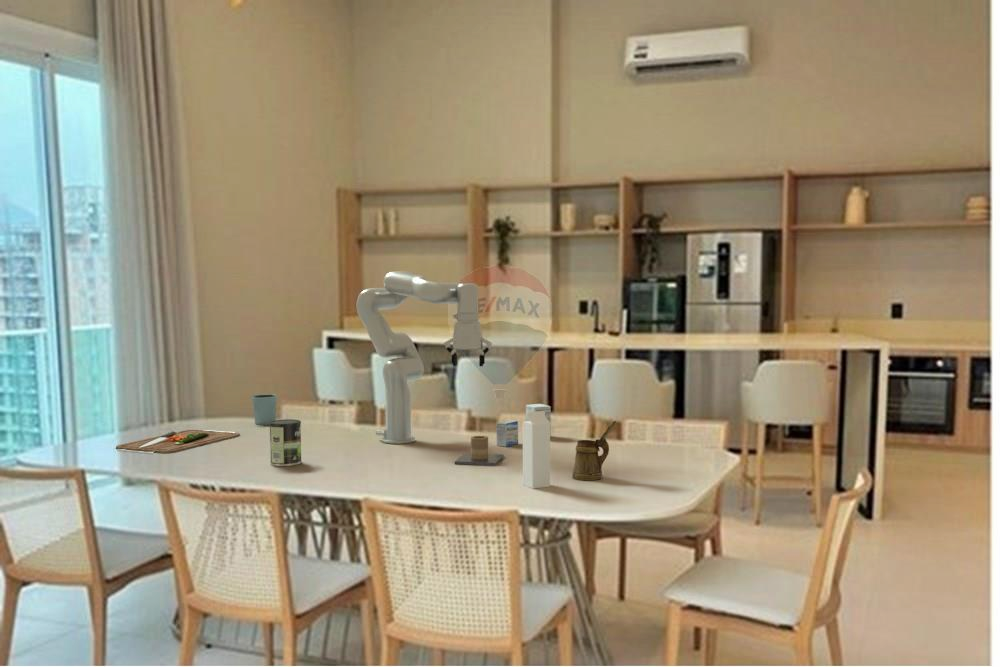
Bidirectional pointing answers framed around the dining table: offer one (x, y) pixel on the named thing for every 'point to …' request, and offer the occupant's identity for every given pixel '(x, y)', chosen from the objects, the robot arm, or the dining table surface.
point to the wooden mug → (591, 457)
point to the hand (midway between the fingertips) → (468, 365)
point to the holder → (490, 461)
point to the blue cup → (264, 408)
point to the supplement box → (540, 408)
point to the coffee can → (285, 442)
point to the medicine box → (507, 433)
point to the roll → (479, 447)
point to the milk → (536, 450)
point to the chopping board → (176, 441)
